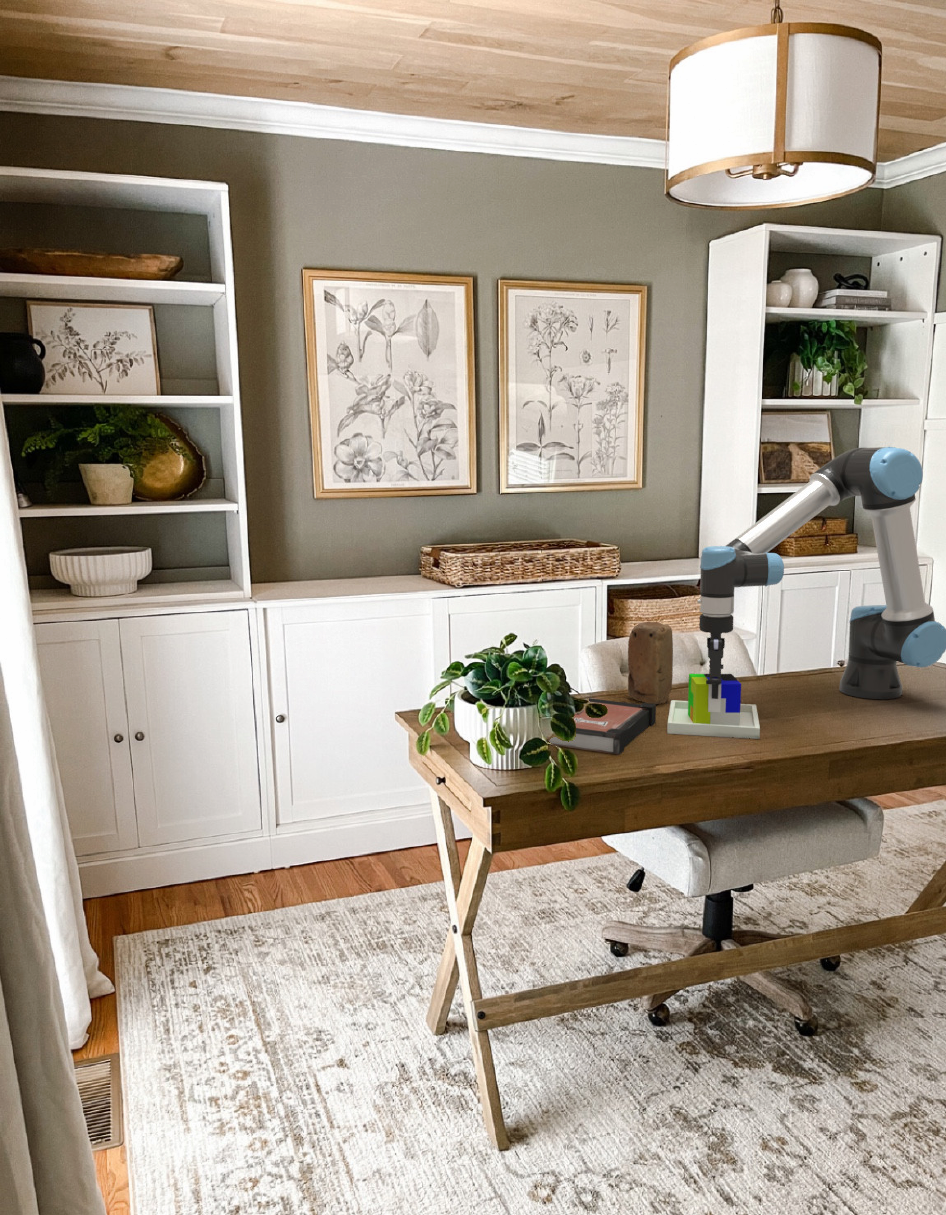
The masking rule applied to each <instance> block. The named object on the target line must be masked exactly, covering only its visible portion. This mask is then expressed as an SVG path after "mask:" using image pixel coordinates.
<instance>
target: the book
mask: <svg viewBox="0 0 946 1215" xmlns="http://www.w3.org/2000/svg"><path fill="white" fill-rule="evenodd" d="M588 698H589V697H588ZM589 701H590V702H594V703H599V704H602V705H605V706H606V707H607V709H608V714H606V715H605V716H603V717H601V718H591V717H589V716H587V715H586V713H585V709H583V710H582V711H581V712H580V713H577V714H575V716H574V721H575V723H576V737H575V739H574V740H573V741H569V742H568V741H562V740H560V739H558V738H557V737H553V738H551V739H550V740H549V739H548V741H549V742H550V743H552V744H554V745H553V746H555V745H557V746H556V747H561V748H562V747H563V748H570V749H577V750H583V751H591V752H597V753H606V754H610V755H621V754H622V753H623V752H624V751H625V747H627V746H628V745H629V744H630V743H632V742H633V741H634V740H635V739H637V737H639V736H640V734H642V733H644V732H645V731H646V730H647V728H648V727H653V726H654V725H656V723H657V722H656V721H657V718H656V717H657V716H656V715H657V704H650V703H644V702H641V703H631V702H623V701H615V700H606V699H598V698H589Z"/></svg>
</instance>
